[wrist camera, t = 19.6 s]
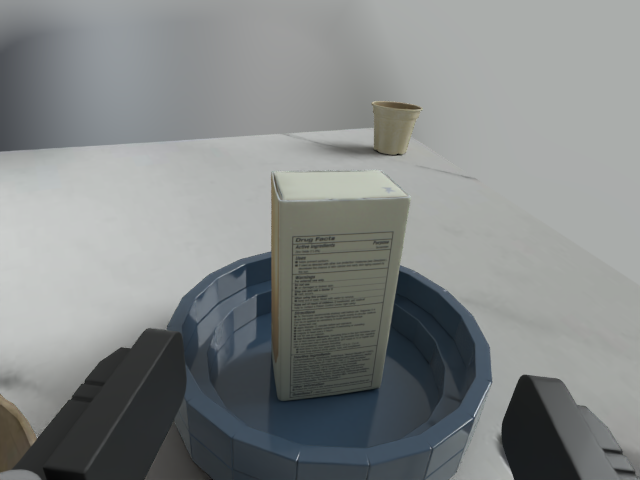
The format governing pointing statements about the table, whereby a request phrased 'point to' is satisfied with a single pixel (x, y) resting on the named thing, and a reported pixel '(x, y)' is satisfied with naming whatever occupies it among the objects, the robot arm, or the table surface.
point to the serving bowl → (334, 410)
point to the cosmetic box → (333, 278)
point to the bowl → (13, 435)
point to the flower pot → (393, 126)
